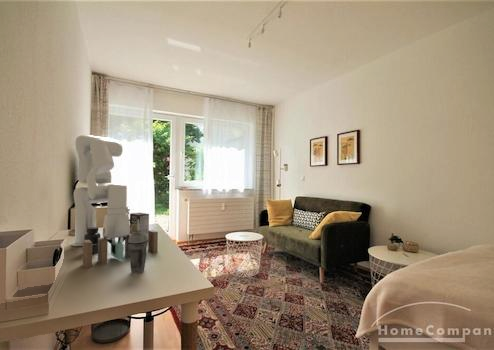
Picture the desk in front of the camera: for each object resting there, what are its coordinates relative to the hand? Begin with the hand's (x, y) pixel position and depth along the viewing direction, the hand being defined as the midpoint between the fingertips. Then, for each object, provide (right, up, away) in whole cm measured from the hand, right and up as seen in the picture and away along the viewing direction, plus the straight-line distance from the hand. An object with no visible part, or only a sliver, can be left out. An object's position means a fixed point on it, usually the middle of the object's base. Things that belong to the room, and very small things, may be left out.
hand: (116, 252), depth 106 cm
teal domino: (+4, +2, -4) cm, 6 cm away
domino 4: (+11, -3, +12) cm, 17 cm away
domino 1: (-8, -3, -8) cm, 11 cm away
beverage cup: (+16, -3, -14) cm, 21 cm away
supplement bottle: (-17, -3, +9) cm, 20 cm away
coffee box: (-3, -4, +30) cm, 30 cm away
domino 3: (+4, -3, +4) cm, 6 cm away
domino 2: (-4, -3, -4) cm, 6 cm away
